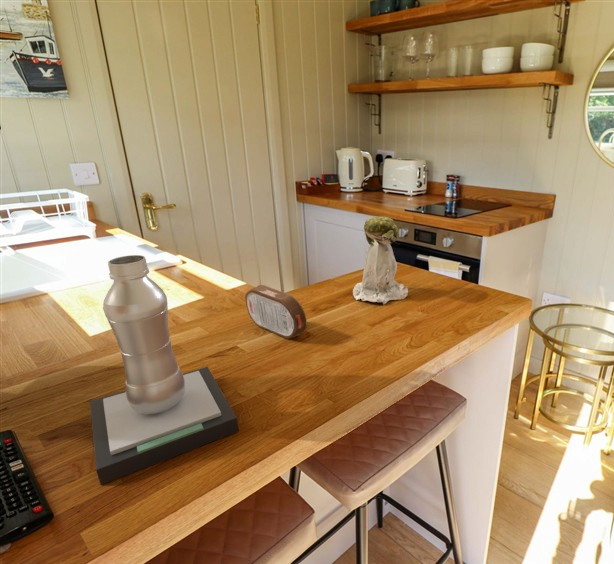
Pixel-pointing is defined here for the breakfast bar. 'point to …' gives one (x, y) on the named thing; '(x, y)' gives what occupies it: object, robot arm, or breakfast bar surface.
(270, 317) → the tin
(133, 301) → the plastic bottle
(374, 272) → the draped concrete planter
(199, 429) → the scale
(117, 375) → the breakfast bar surface
